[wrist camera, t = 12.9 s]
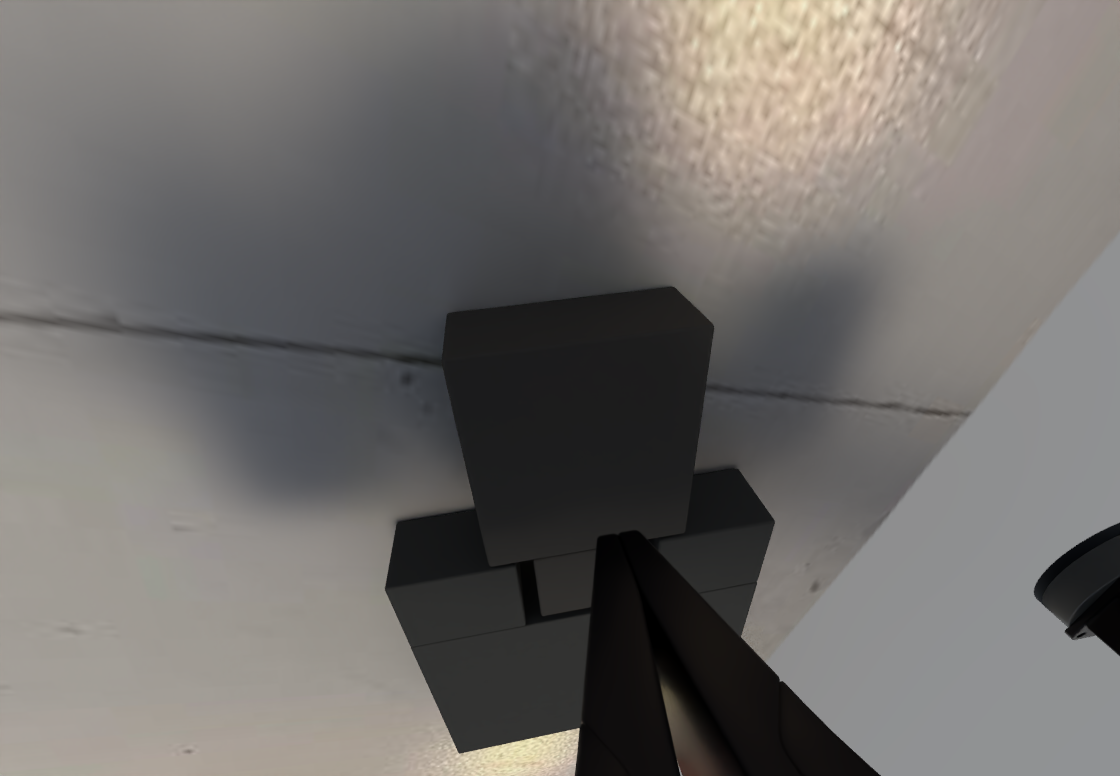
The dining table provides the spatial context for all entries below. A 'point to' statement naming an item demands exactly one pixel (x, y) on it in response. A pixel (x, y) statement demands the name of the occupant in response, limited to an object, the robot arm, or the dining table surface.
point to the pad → (577, 426)
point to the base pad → (553, 640)
